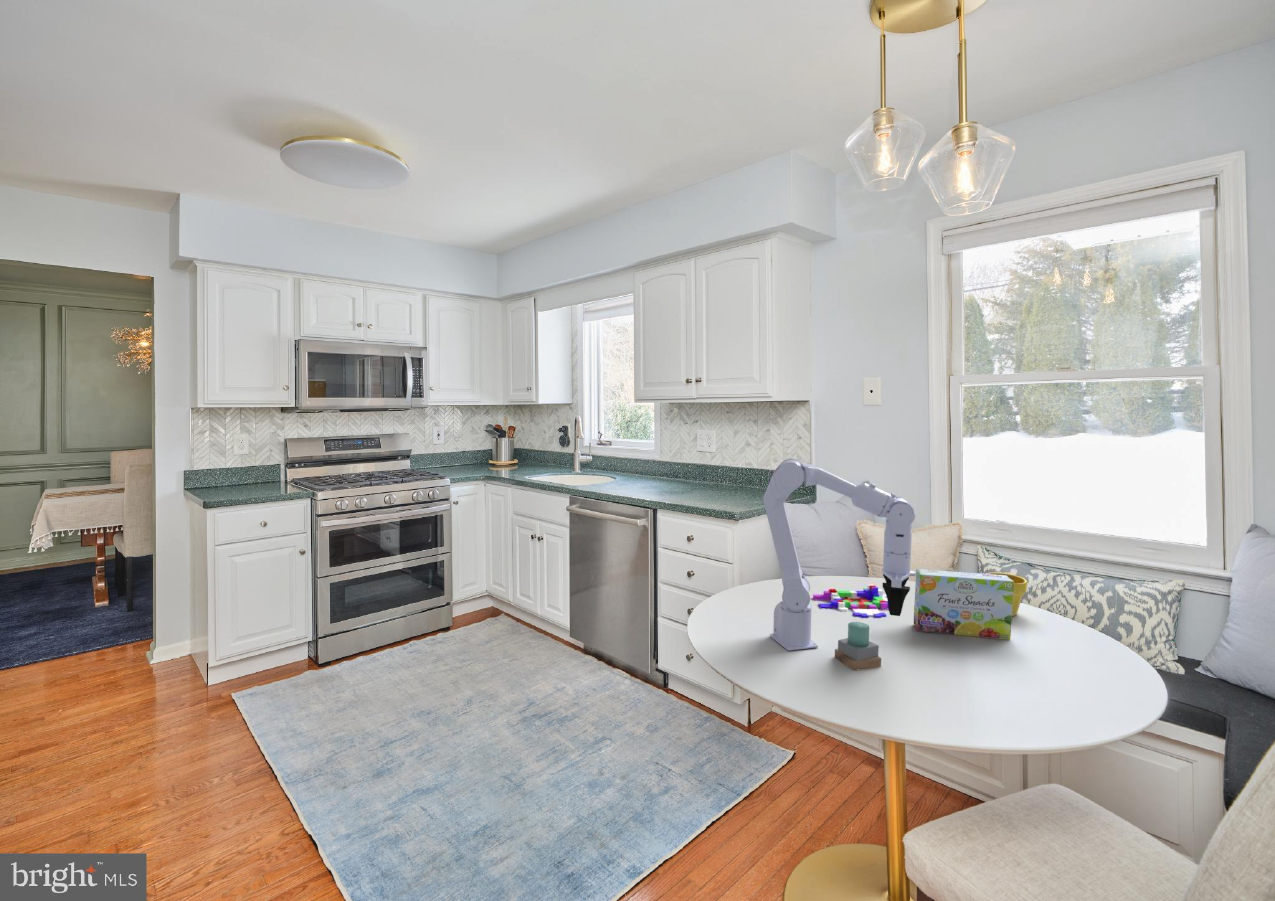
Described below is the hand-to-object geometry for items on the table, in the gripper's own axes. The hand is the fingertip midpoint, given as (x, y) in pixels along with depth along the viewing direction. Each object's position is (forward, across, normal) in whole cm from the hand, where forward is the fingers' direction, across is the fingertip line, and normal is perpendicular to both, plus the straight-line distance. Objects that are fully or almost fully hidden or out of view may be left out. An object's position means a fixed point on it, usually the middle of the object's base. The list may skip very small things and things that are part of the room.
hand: (894, 609), depth 141 cm
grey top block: (+8, -8, +7) cm, 14 cm away
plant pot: (+11, +41, -28) cm, 51 cm away
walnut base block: (+11, -8, +7) cm, 15 cm away
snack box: (+11, +21, -16) cm, 28 cm away
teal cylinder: (+6, -8, +7) cm, 13 cm away
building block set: (+11, +33, +8) cm, 36 cm away
